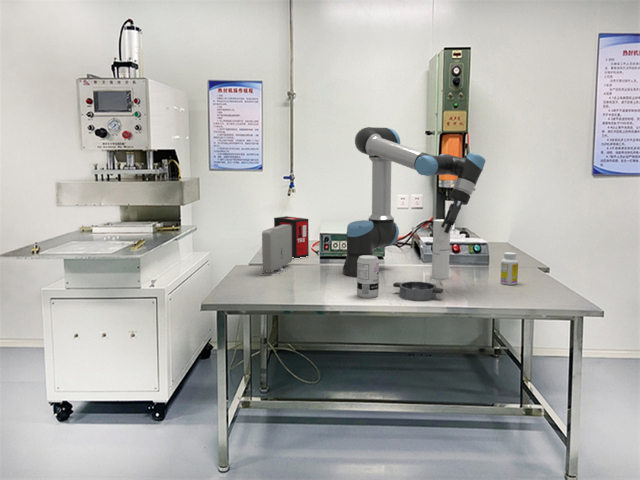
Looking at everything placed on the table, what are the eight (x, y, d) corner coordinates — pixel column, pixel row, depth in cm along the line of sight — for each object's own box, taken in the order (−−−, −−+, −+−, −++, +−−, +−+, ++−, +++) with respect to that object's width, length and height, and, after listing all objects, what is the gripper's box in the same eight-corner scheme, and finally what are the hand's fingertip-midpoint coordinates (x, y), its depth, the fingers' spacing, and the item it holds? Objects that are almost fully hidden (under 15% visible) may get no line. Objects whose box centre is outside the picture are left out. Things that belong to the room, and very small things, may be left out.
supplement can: (355, 293, 214) (355, 255, 211) (376, 292, 214) (377, 254, 212) (358, 298, 206) (359, 259, 203) (380, 298, 206) (381, 258, 204)
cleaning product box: (274, 255, 293) (274, 217, 290) (286, 253, 299) (286, 216, 296) (296, 259, 281) (296, 220, 278) (308, 256, 288) (308, 218, 285)
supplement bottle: (517, 282, 231) (518, 252, 229) (517, 285, 225) (518, 255, 223) (500, 281, 233) (501, 251, 231) (499, 284, 227) (501, 254, 225)
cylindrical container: (448, 279, 236) (450, 221, 233) (431, 278, 238) (433, 221, 234) (448, 275, 243) (450, 219, 239) (431, 275, 245) (433, 219, 241)
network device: (275, 276, 242) (274, 231, 238) (257, 275, 244) (256, 230, 241) (296, 265, 266) (296, 224, 262) (279, 264, 268) (279, 223, 265)
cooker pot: (386, 296, 209) (387, 285, 208) (402, 288, 220) (402, 279, 219) (434, 303, 198) (434, 293, 198) (448, 295, 210) (448, 285, 209)
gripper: (476, 190, 201) (453, 244, 201) (465, 200, 226) (444, 247, 225) (457, 182, 202) (434, 235, 201) (448, 193, 227) (427, 240, 226)
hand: (439, 242), depth 213 cm, fingers open, 13 cm apart
